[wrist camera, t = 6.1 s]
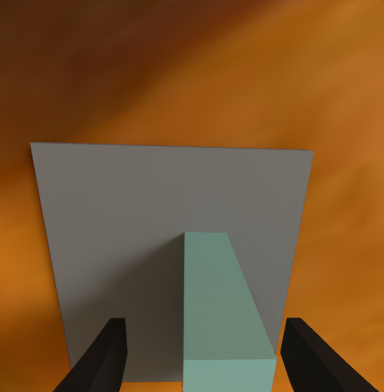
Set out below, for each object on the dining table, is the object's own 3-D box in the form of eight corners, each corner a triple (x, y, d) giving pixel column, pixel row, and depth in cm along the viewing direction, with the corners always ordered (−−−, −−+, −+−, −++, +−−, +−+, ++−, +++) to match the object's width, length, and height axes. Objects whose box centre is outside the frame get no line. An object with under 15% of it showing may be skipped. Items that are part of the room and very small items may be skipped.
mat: (267, 370, 14) (270, 380, 13) (78, 372, 14) (73, 382, 13) (306, 149, 10) (313, 150, 9) (39, 142, 9) (30, 143, 9)
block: (216, 356, 13) (241, 543, 7) (182, 356, 13) (179, 545, 7) (226, 232, 10) (276, 359, 5) (184, 232, 10) (183, 360, 5)
